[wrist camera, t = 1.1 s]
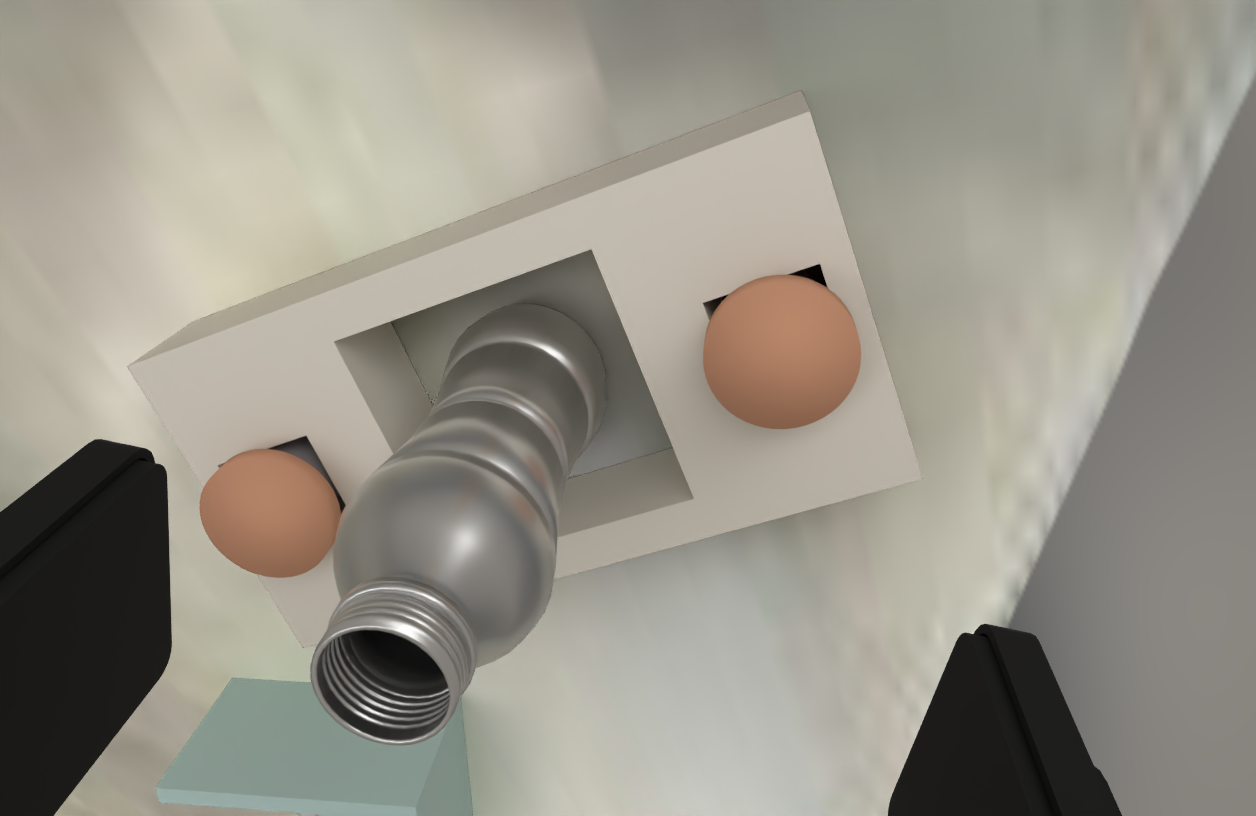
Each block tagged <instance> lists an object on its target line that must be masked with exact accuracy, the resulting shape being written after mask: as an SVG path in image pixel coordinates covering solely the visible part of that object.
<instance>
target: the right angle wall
mask: <svg viewBox="0 0 1256 816" xmlns="http://www.w3.org/2000/svg"><path fill="white" fill-rule="evenodd" d="M155 789H156V792H157V796H158V799H159V803H172V804H186V805H199V806H212V807H225V808H238V809H251V810H264V811H277V812H291V813H299V815H300V816H473V807H472V798H471V789H470V780H469V771H468V762H467V753H466V744H465V735H464V725H463V716H462V707H461V698H460V699H459V702H458V704H457V707H456V709H455V712H454V714H453V716H452V717H451V719H450V720H449V721H448V723H447V724H446V726H445V727H444V728H443V729H442V730H441V731H440V732H439V733H438V734H436V735H435V736H433V737H431V738H429V739H428V740H426V741H423V742H419V743H416V744H411V745H402V746H398V745H385V744H381V743H376V742H372V741H369V740H367V739H364V738H361V737H359V736H357V735H355V734H354V733H352V732H350V731H348V730H346V729H345V728H344V727H342V726H341V725H340V724H338V723H337V722H336V721H335V720H334V719H333V718H332V717H331V716H330V715H329V714H328V713H327V712H326V711H325V709H324V708H323V706H322V705H321V704H320V702H319V701H318V698H317V696H316V694H315V692H314V690H313V686H312V683H309V682H293V681H277V680H261V679H245V678H232V679H231V680H230V682H229V683H228V685H227V686H226V687H225V689H224V690H223V692H222V693H221V695H220V696H219V697H218V699H217V700H216V702H215V703H214V705H213V706H212V707H211V709H210V710H209V712H208V713H207V715H206V716H205V717H204V719H203V720H202V722H201V723H200V725H199V726H198V727H197V729H196V730H195V732H194V733H193V735H192V736H191V738H190V739H189V740H188V742H187V743H186V745H185V746H184V748H183V749H182V750H181V752H180V753H179V755H178V756H177V758H176V759H175V760H174V762H173V763H172V765H171V766H170V768H169V769H168V770H167V772H166V773H165V775H164V776H163V778H162V779H161V780H160V782H159V783H158V785H157V786H156V788H155Z"/></svg>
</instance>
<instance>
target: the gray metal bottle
mask: <svg viewBox="0 0 1256 816" xmlns="http://www.w3.org/2000/svg"><path fill="white" fill-rule="evenodd" d="M606 401H607V394H606V380H605V370H604V366H603V363H602V359H601V356H600V354H599V352H598V350H597V348H596V346H595V344H594V342H593V341H592V340H591V338H590V337H589V336H588V334H587V333H586V332H585V331H584V330H583V329H582V328H581V327H580V326H579V325H578V324H577V323H576V322H575V321H573V320H572V319H570V318H569V317H567V316H565V315H564V314H562V313H560V312H558V311H555V310H553V309H551V308H548V307H544V306H539V305H534V304H515V305H510V306H505V307H502V308H499V309H497V310H495V311H492V312H490V313H489V314H487V315H486V316H484V317H483V318H481V319H480V320H478V321H477V322H475V323H474V324H473V325H471V326H470V327H468V328H467V329H466V330H465V332H464V333H463V334H462V335H461V336H460V337H459V338H458V340H457V342H456V343H455V345H454V347H453V349H452V351H451V353H450V356H449V359H448V362H447V364H446V367H445V371H444V374H443V378H442V382H441V389H440V392H439V394H438V396H437V398H436V401H435V403H434V405H433V408H432V410H431V412H430V414H429V415H428V416H427V418H426V419H425V420H424V421H423V423H422V424H421V425H420V427H419V428H418V429H417V430H416V431H415V433H414V434H413V435H412V437H411V438H410V439H409V440H408V441H407V442H406V443H405V444H404V445H403V446H402V447H401V448H400V449H398V450H397V451H396V452H395V453H394V454H393V455H392V456H391V457H390V458H388V459H387V460H386V461H385V462H384V463H383V464H382V465H381V466H380V467H379V468H378V469H377V470H375V471H374V472H373V473H372V474H371V475H370V476H369V477H368V478H367V479H366V480H365V482H364V483H363V484H362V485H361V486H360V487H359V489H358V490H357V491H356V492H355V493H354V494H353V496H352V497H351V498H350V499H349V501H348V503H347V504H346V506H345V508H344V510H343V512H342V514H341V517H340V521H339V525H338V528H337V532H336V539H335V545H334V552H333V571H334V576H335V581H336V586H337V589H338V593H339V596H340V599H341V601H340V603H339V604H338V606H337V607H336V609H335V611H334V613H333V614H332V616H331V618H330V621H329V625H328V629H327V631H326V632H325V634H324V635H323V637H322V639H321V640H320V642H319V644H318V645H317V647H316V649H315V653H314V655H313V659H312V663H311V682H312V686H313V690H314V692H315V694H316V696H317V698H318V701H319V702H320V704H321V705H322V706H323V708H324V709H325V711H326V712H327V713H328V714H329V715H330V716H331V717H332V718H333V719H334V720H335V721H336V722H337V723H338V724H340V725H341V726H342V727H344V728H345V729H346V730H348V731H350V732H352V733H354V734H355V735H357V736H359V737H361V738H364V739H367V740H369V741H372V742H376V743H381V744H385V745H398V746H402V745H411V744H416V743H419V742H423V741H426V740H428V739H429V738H431V737H433V736H435V735H436V734H438V733H439V732H440V731H441V730H442V729H443V728H444V727H445V726H446V724H447V723H448V721H449V720H450V719H451V717H452V716H453V714H454V712H455V709H456V707H457V704H458V702H459V699H460V697H461V695H462V694H463V693H464V691H465V690H466V689H467V687H468V686H469V684H470V682H471V679H472V677H473V674H474V672H475V669H476V668H477V667H480V666H483V665H485V664H488V663H491V662H493V661H495V660H497V659H499V658H501V657H503V656H504V655H506V654H508V653H509V652H511V651H512V650H513V649H514V648H515V647H516V646H517V645H518V644H520V643H521V642H522V641H523V640H524V638H525V637H526V636H527V635H528V634H529V633H530V632H531V630H532V629H533V628H534V627H535V625H536V624H537V623H538V621H539V620H540V618H541V617H542V615H543V614H544V613H545V610H546V607H547V605H548V602H549V600H550V597H551V592H552V586H553V581H554V575H555V567H556V554H557V536H558V518H559V512H560V508H561V503H562V498H563V493H564V490H565V485H566V481H567V479H568V477H569V475H570V473H571V471H572V469H573V467H574V465H575V463H576V461H577V459H578V458H579V457H580V456H581V455H582V454H583V453H584V451H585V450H586V448H587V447H588V445H589V444H590V442H591V441H592V439H593V437H594V436H595V434H596V432H597V431H598V429H599V427H600V425H601V422H602V419H603V417H604V414H605V408H606Z"/></svg>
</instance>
